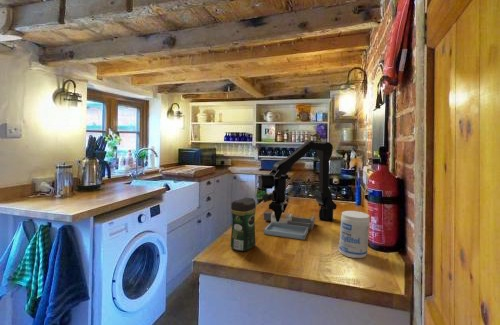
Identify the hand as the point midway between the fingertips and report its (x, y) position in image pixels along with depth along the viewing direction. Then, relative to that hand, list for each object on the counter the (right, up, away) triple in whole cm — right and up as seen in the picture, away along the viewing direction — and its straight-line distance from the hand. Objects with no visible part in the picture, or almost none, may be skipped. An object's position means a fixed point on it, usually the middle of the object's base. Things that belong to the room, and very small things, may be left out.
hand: (279, 219), depth 133 cm
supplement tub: (+23, -5, -34) cm, 42 cm away
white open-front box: (-1, -1, 0) cm, 1 cm away
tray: (+2, -3, -14) cm, 15 cm away
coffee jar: (-17, -4, -31) cm, 35 cm away
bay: (+10, -2, -3) cm, 10 cm away
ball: (+2, +1, 0) cm, 2 cm away
